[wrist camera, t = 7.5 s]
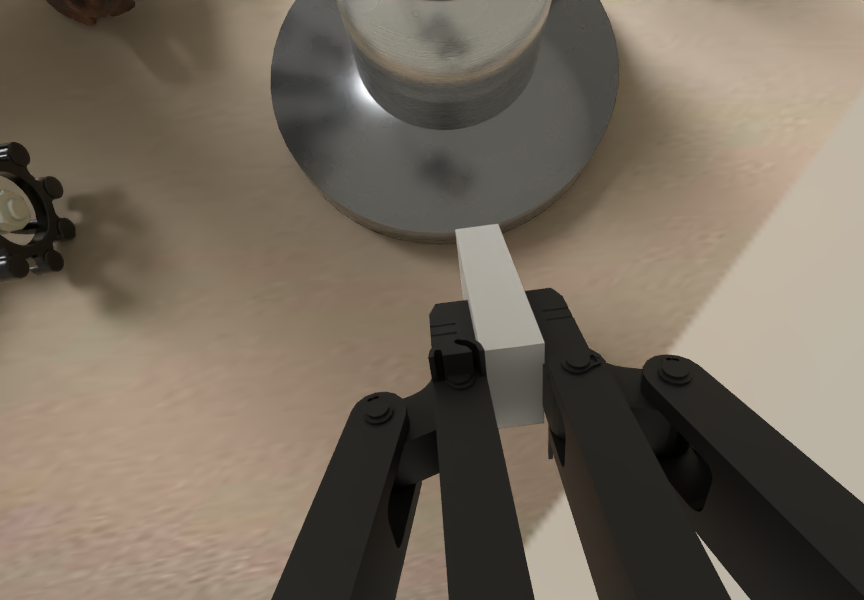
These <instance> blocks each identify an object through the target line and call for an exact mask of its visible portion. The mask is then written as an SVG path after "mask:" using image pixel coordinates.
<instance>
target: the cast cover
mask: <svg viewBox="0 0 864 600" xmlns="http://www.w3.org/2000/svg"><path fill="white" fill-rule="evenodd" d="M336 1H337V4H338V7H339V10H340V14H341V17H342V20H343V23H344V27H345V30H346V33H347V36H348V40H349V43H350V46H351V49H352V53H353V56H354V59H355V62H356V65H357V69H358V72H359V75H360V77H361V80H362V82H363V85H364V86H365V88H366V90H367V91H368V93H369V94H370V96H371V97H372V98H373V99H374V100H375V102H376V103H377V104H378V105H379V106H381V107H382V108H383V109H384V110H385V111H386V112H388V113H389V114H391V115H392V116H394V117H396V118H397V119H399V120H401V121H403V122H406V123H408V124H411V125H414V126H417V127H422V128H426V129H434V130H454V129H462V128H467V127H470V126H474V125H477V124H480V123H482V122H485V121H487V120H489V119H491V118H493V117H495V116H497V115H498V114H500V113H501V112H503V111H504V110H505V109H507V108H508V107H509V106H510V105H511V104H512V103H513V102H515V101H516V100H517V98H518V97H519V96H520V95H521V94H522V92H523V91H524V90H525V88H526V86H527V85H528V83H529V82H530V79H531V77H532V75H533V73H534V70H535V66H536V63H537V59H538V55H539V50H540V46H541V42H542V38H543V34H544V30H545V26H546V22H547V18H548V14H549V10H550V5H551V1H552V0H336Z"/></svg>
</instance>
